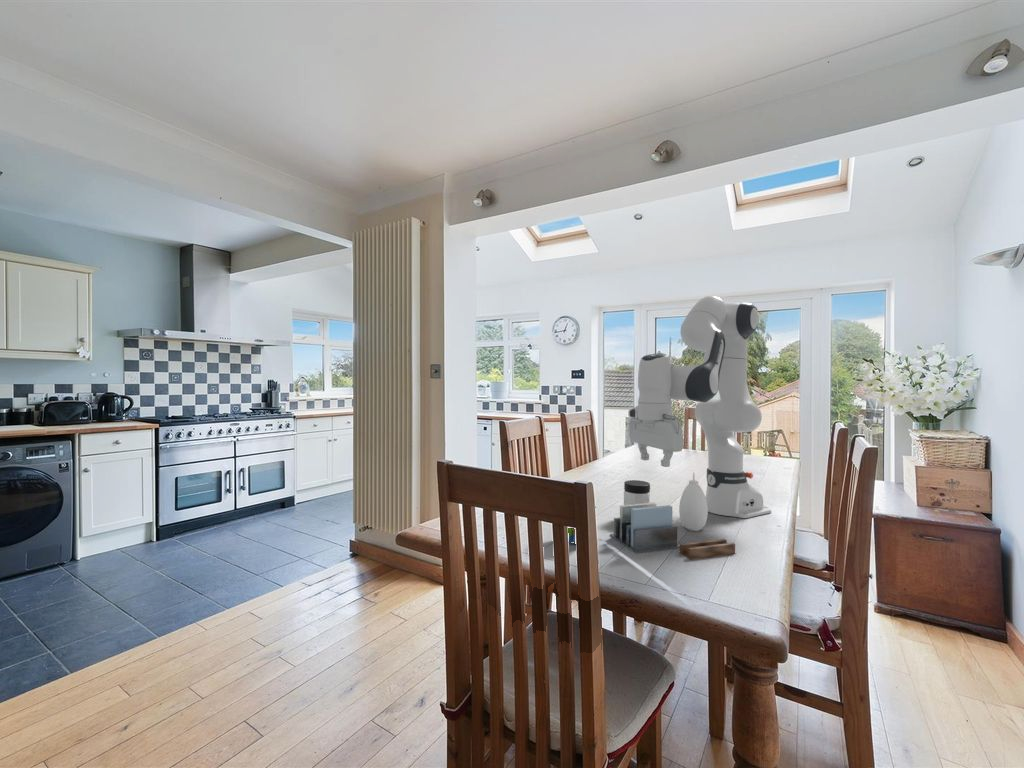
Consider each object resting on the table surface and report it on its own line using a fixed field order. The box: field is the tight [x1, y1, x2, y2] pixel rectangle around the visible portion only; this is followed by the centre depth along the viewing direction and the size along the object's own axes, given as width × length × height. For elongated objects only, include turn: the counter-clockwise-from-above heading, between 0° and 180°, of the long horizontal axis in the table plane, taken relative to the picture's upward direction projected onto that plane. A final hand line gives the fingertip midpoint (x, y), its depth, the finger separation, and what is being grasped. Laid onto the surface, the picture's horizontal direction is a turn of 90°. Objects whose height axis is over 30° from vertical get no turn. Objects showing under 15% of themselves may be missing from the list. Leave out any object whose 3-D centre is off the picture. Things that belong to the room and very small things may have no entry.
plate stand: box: [678, 538, 737, 561], centre depth 121 cm, size 14×5×3 cm, turn 107°
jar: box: [623, 479, 651, 505], centre depth 151 cm, size 9×8×12 cm
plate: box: [631, 504, 673, 547], centre depth 126 cm, size 12×1×10 cm, turn 107°
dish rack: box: [609, 502, 680, 554], centre depth 129 cm, size 14×14×10 cm
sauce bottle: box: [678, 472, 709, 532], centre depth 139 cm, size 8×8×18 cm
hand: (654, 463), depth 127 cm, fingers open, 8 cm apart
